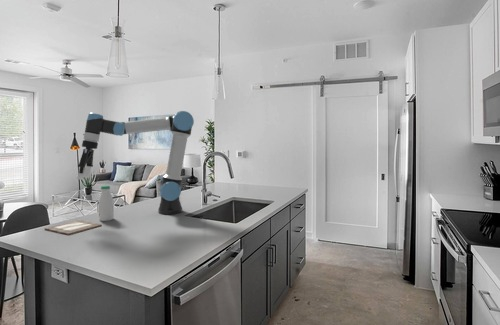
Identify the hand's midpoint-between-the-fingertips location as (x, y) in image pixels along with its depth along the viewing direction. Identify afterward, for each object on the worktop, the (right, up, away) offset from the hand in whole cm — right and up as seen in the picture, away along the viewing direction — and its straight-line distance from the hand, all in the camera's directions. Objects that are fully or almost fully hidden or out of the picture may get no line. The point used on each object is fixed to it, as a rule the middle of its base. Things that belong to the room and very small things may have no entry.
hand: (83, 178), depth 163 cm
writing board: (-1, -26, -7) cm, 27 cm away
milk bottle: (+8, -25, +9) cm, 28 cm away
